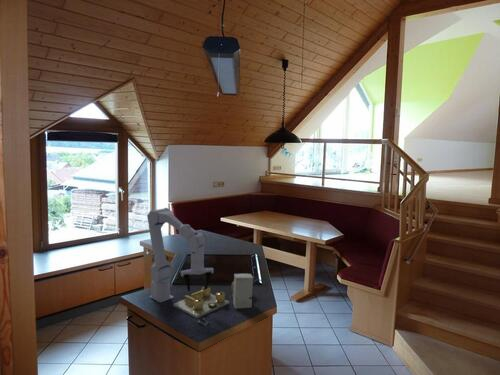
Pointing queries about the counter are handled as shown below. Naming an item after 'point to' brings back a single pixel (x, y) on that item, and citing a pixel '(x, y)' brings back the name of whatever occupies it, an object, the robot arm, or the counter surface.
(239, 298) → the skincare box
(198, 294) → the knob
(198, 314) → the levelling plate
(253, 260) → the counter surface
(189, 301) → the knob
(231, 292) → the ceramic mug
